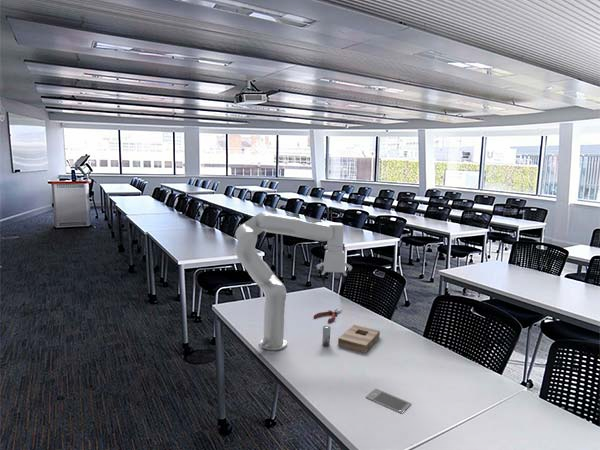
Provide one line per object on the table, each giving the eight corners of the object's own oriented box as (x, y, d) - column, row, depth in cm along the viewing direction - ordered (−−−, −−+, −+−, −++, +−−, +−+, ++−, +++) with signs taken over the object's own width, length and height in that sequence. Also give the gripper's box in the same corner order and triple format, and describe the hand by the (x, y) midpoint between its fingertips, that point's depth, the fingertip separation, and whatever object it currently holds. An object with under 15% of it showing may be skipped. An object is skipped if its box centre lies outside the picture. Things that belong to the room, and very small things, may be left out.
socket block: (365, 352, 189) (365, 345, 188) (338, 345, 196) (338, 338, 195) (379, 337, 206) (379, 330, 206) (353, 330, 213) (354, 324, 212)
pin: (327, 347, 193) (328, 329, 192) (320, 345, 195) (321, 327, 193) (330, 344, 196) (331, 326, 195) (324, 342, 198) (325, 325, 197)
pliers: (348, 314, 238) (348, 309, 237) (329, 324, 222) (330, 319, 221) (331, 309, 244) (331, 305, 244) (312, 319, 228) (312, 314, 228)
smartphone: (412, 405, 150) (412, 403, 150) (402, 415, 143) (402, 413, 143) (375, 389, 159) (376, 388, 159) (365, 398, 153) (365, 396, 153)
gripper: (317, 249, 192) (315, 284, 195) (353, 250, 192) (351, 285, 194) (317, 246, 200) (315, 279, 202) (352, 247, 199) (350, 281, 202)
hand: (333, 282), depth 198 cm, fingers open, 9 cm apart
